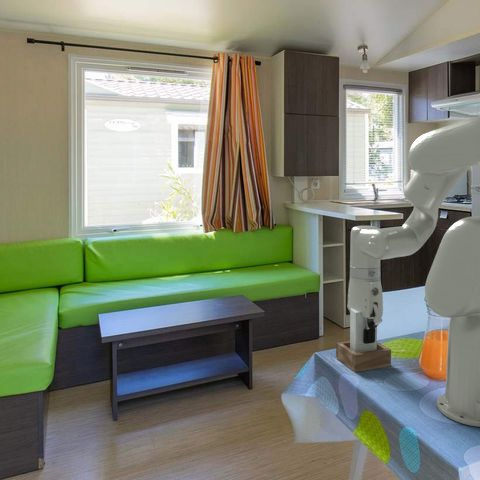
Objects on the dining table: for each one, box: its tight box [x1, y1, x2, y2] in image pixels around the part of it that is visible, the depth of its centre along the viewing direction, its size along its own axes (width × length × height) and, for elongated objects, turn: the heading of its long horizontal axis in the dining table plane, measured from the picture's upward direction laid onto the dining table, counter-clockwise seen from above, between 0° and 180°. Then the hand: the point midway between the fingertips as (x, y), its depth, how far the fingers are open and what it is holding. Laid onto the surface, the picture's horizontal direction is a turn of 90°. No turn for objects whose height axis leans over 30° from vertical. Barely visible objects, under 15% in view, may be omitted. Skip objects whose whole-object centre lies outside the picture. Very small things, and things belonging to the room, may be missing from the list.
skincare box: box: [349, 308, 378, 353], centre depth 116 cm, size 6×4×12 cm
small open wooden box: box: [335, 340, 392, 373], centre depth 117 cm, size 9×11×4 cm
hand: (363, 338), depth 117 cm, fingers closed on skincare box, 4 cm apart
